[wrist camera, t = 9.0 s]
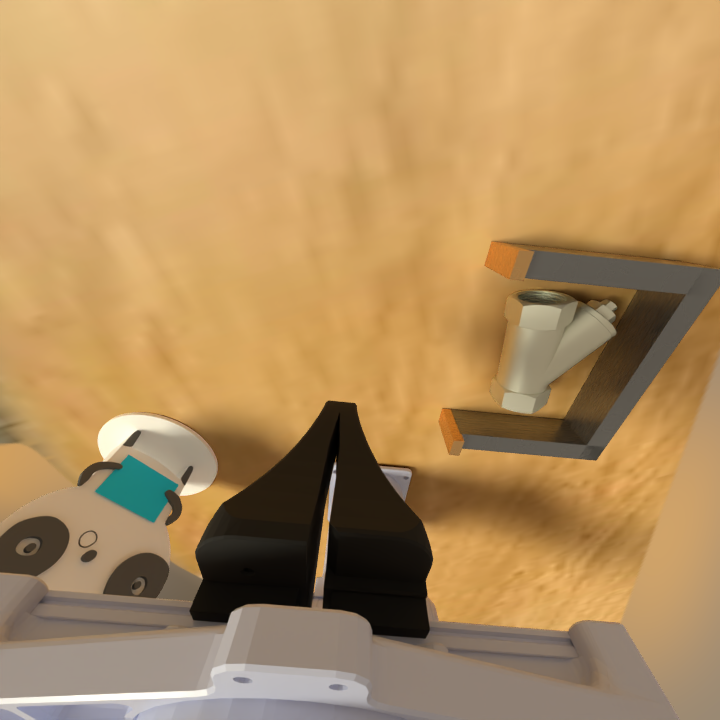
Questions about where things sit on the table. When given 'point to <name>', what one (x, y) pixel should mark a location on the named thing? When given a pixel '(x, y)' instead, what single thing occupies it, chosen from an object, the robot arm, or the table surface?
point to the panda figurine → (112, 512)
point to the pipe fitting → (546, 344)
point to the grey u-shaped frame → (615, 365)
